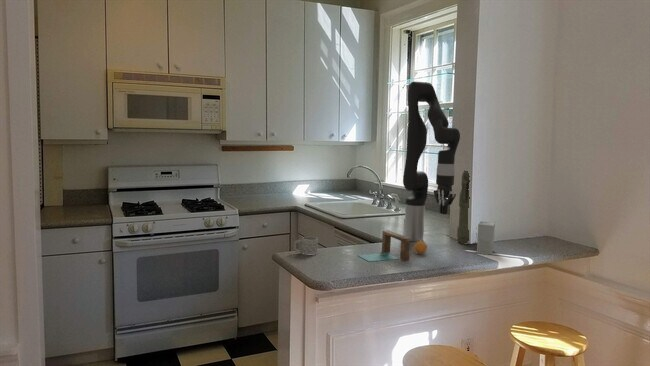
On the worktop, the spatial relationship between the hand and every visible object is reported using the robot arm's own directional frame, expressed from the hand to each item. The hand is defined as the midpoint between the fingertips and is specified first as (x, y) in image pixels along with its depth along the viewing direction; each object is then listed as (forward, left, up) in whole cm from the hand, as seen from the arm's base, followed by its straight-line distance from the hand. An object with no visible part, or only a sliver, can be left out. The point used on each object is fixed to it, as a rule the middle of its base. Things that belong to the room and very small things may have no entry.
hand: (443, 213), depth 220 cm
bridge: (0, -24, -17) cm, 29 cm away
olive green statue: (-13, +24, -17) cm, 32 cm away
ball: (0, -11, -14) cm, 18 cm away
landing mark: (0, -32, -17) cm, 36 cm away
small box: (+6, +19, -17) cm, 26 cm away
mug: (-15, -58, -17) cm, 62 cm away
